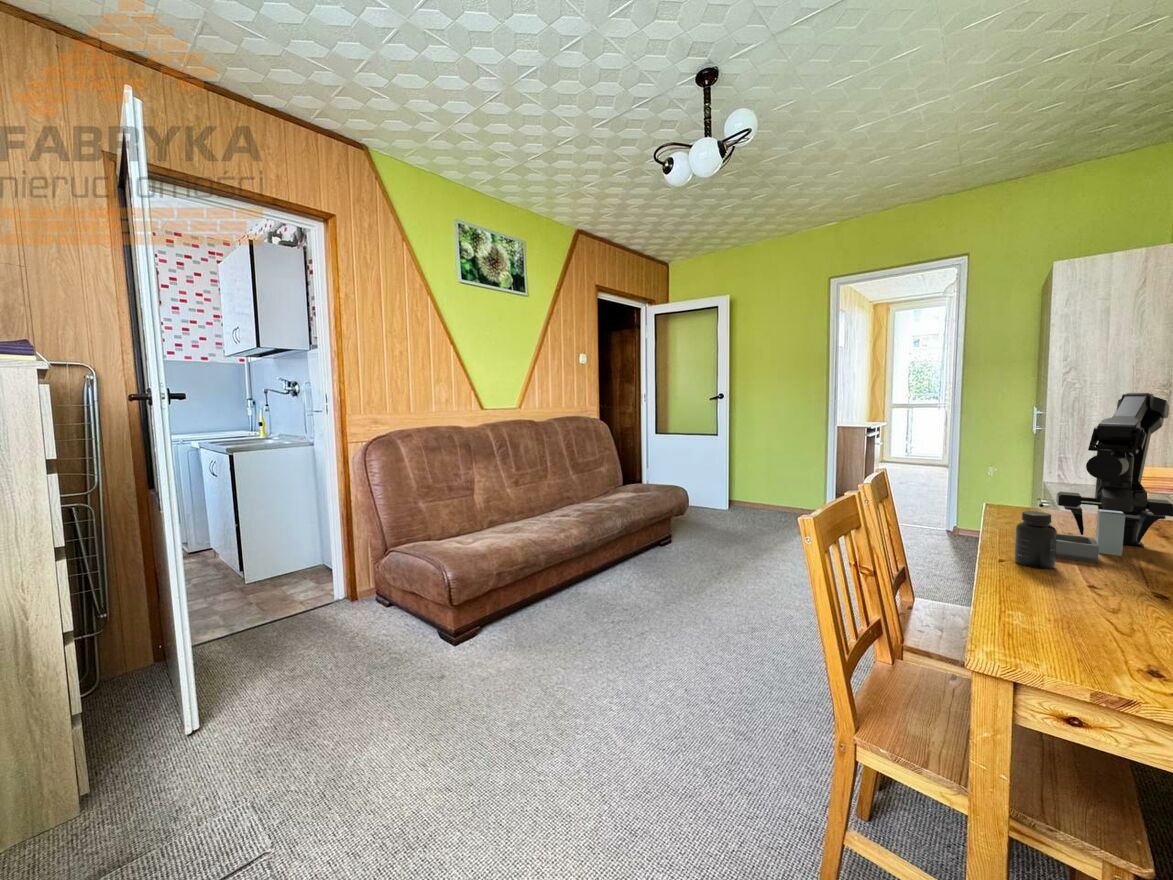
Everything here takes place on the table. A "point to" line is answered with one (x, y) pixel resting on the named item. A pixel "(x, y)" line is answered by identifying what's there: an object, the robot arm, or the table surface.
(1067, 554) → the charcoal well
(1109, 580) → the table surface
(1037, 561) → the supplement bottle
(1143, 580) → the table surface
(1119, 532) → the blue-grey block
